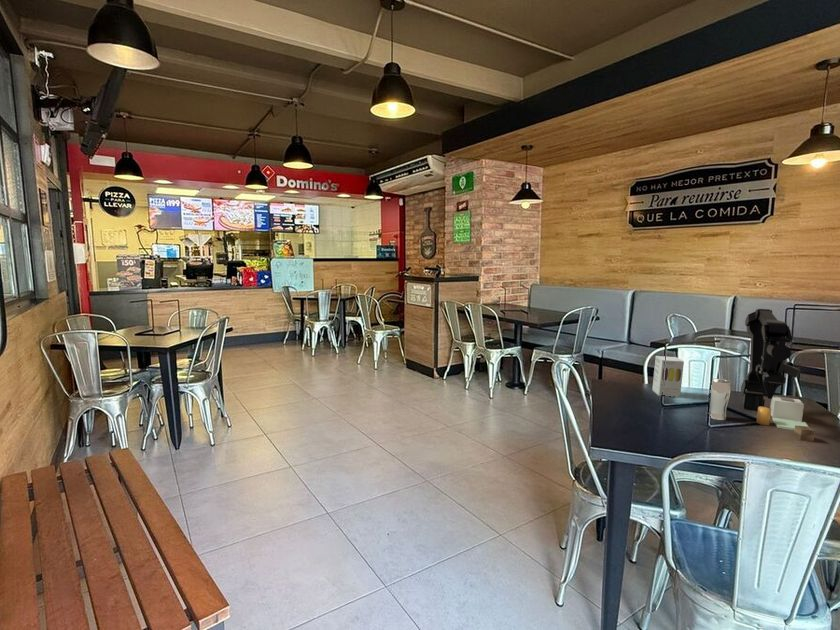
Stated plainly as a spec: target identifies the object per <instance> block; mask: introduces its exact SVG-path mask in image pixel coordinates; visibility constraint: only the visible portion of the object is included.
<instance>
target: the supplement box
mask: <svg viewBox="0 0 840 630" xmlns="http://www.w3.org/2000/svg"><path fill="white" fill-rule="evenodd" d="M664 362H665V356H664V355H663V356H662V355H655V361H654V370H653V380H652V392H653V393H655V394H656V395H657V396H659V397H662V396H661V395H662V392H663V390H664V395H665V396H664V397H669V396H671V398H672V397H673V396H678V397H677V398H681V392H682V391H681V390H682V383H683V374H684V373H683V372H684V365H685V364H684V363H685V362H684V360H682V359H681V358H679V357H677V356H666V373H665V386H664V385H663V377H664ZM663 386H664V387H663ZM673 398H674V397H673Z"/></svg>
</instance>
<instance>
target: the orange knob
mask: <svg viewBox="0 0 840 630" xmlns="http://www.w3.org/2000/svg"><path fill="white" fill-rule="evenodd" d="M756 415H757V416H756V423H757V424H759V425H762V426H769V425H770V423H771V417H772V416H771V409H770V407H767V406H764V407H762V406H760V407H758V411H757V414H756Z"/></svg>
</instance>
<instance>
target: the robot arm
mask: <svg viewBox="0 0 840 630" xmlns="http://www.w3.org/2000/svg"><path fill="white" fill-rule="evenodd" d="M744 325H745V327H746V332H747V333H748V334H749V336H750V359H749V361H750V363H749V371H748V372H747V374H746V375H745V376H744V380H743V381H742V383H741V385H740V392H741V393H742V395H743V399H742V400H743V401H742V403H741V406H742V408H743V409H744V410H749V411H750V410H751V411H756V412H758V407H760V406H762V407H765V401H766V400H765V398H764V397H766V398H767V399H769V400H771V399H772V397H773V396H775V393H776V391H777V389H778V387H780V386H783V385H784V384H786V381H787V379H786V377H785V376H784V375H783V373H784V374H785V375H788V376H791V377H793V378H794V379H796V378H798V376H799V374H800V372H801V370H800V369H799V368H797V367H796V366H795V363H794V362H791V361H787V360H788V359H790V358H791V355H792V351H791V349H790V347H789V346H786V343H788V344H791V342H792V340H793V337H792V331H791V329H790V326H789V325H788V324H787V323H786V321H781V320H778V319H777V318H776V316H775V315H774V313H773V310H772V309H770V308H769V309H768V308H757V309H755V311H753V312H751V313H749V314H747V316H746V318H745V321H744ZM784 361H787V362H784Z"/></svg>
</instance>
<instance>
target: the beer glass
mask: <svg viewBox="0 0 840 630" xmlns="http://www.w3.org/2000/svg"><path fill="white" fill-rule="evenodd" d="M711 379H712V385H711V390H710V388H709V392H708V394H710V393H711V414H710V416H711V418H710V419H712V420H715V421H716V420H717V421H726V420H727V407H728V404H729V401H730V398H731V392H732V386H731V384H732V382H731V381H730V380H728V379H723V378H711Z"/></svg>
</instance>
